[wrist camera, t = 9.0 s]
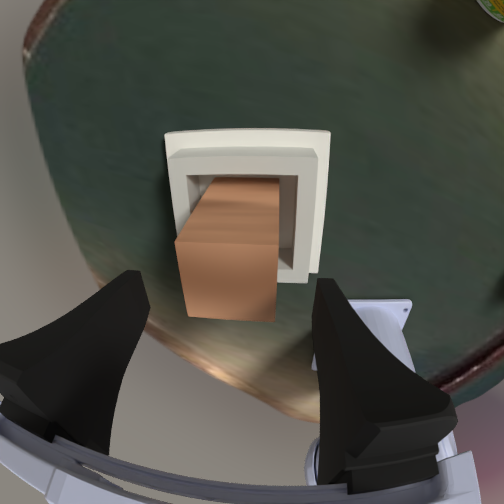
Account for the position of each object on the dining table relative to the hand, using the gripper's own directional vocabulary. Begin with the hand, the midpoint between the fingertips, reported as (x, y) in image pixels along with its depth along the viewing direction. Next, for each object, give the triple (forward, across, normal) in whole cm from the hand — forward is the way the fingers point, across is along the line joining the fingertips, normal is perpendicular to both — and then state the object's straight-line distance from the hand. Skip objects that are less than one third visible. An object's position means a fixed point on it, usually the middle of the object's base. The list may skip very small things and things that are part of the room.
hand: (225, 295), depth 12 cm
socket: (+9, 0, 0) cm, 9 cm away
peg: (+9, 0, 0) cm, 9 cm away
